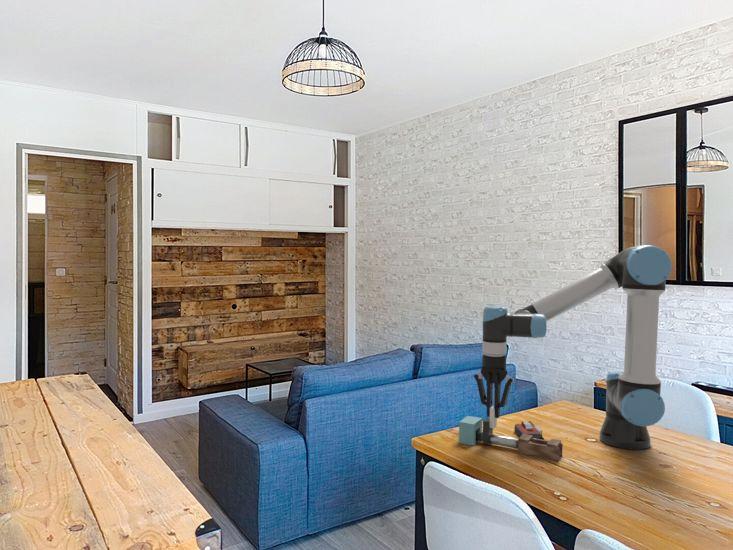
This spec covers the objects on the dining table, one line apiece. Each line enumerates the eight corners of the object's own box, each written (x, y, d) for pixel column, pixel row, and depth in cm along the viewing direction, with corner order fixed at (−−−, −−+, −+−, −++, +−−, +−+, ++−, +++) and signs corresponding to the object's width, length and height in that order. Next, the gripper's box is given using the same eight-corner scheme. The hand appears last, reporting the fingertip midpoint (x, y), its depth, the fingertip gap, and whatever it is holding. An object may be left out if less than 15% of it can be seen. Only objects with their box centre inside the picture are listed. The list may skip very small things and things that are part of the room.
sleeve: (562, 455, 163) (562, 440, 163) (558, 461, 158) (558, 445, 158) (523, 448, 169) (523, 433, 169) (518, 453, 164) (518, 438, 164)
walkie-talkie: (550, 444, 174) (532, 425, 194) (550, 431, 174) (532, 413, 194) (523, 444, 174) (508, 425, 194) (523, 430, 174) (508, 413, 194)
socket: (481, 438, 178) (482, 418, 177) (473, 445, 171) (473, 424, 171) (467, 436, 180) (467, 415, 180) (458, 443, 173) (459, 421, 173)
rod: (532, 449, 167) (533, 425, 167) (529, 453, 163) (530, 428, 163) (472, 437, 177) (472, 415, 177) (467, 441, 174) (468, 418, 174)
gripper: (517, 354, 171) (516, 427, 171) (478, 350, 177) (477, 420, 178) (511, 358, 164) (509, 433, 165) (470, 354, 171) (469, 426, 172)
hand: (493, 427), depth 171 cm, fingers closed
